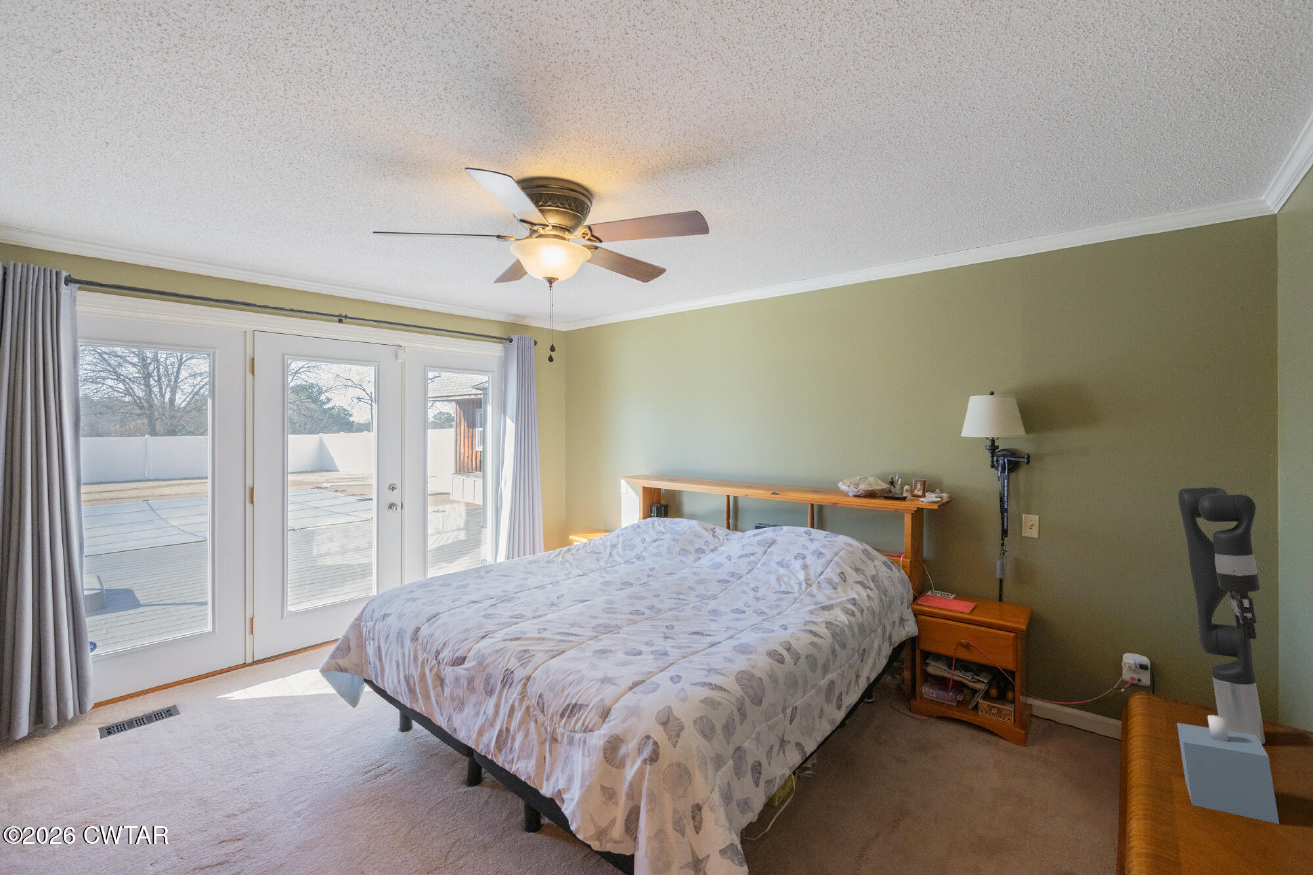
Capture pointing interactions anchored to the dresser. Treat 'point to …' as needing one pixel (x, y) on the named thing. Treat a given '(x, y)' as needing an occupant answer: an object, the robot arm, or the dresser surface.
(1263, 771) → the block with white knob
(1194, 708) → the dresser surface
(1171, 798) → the dresser surface
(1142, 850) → the dresser surface
